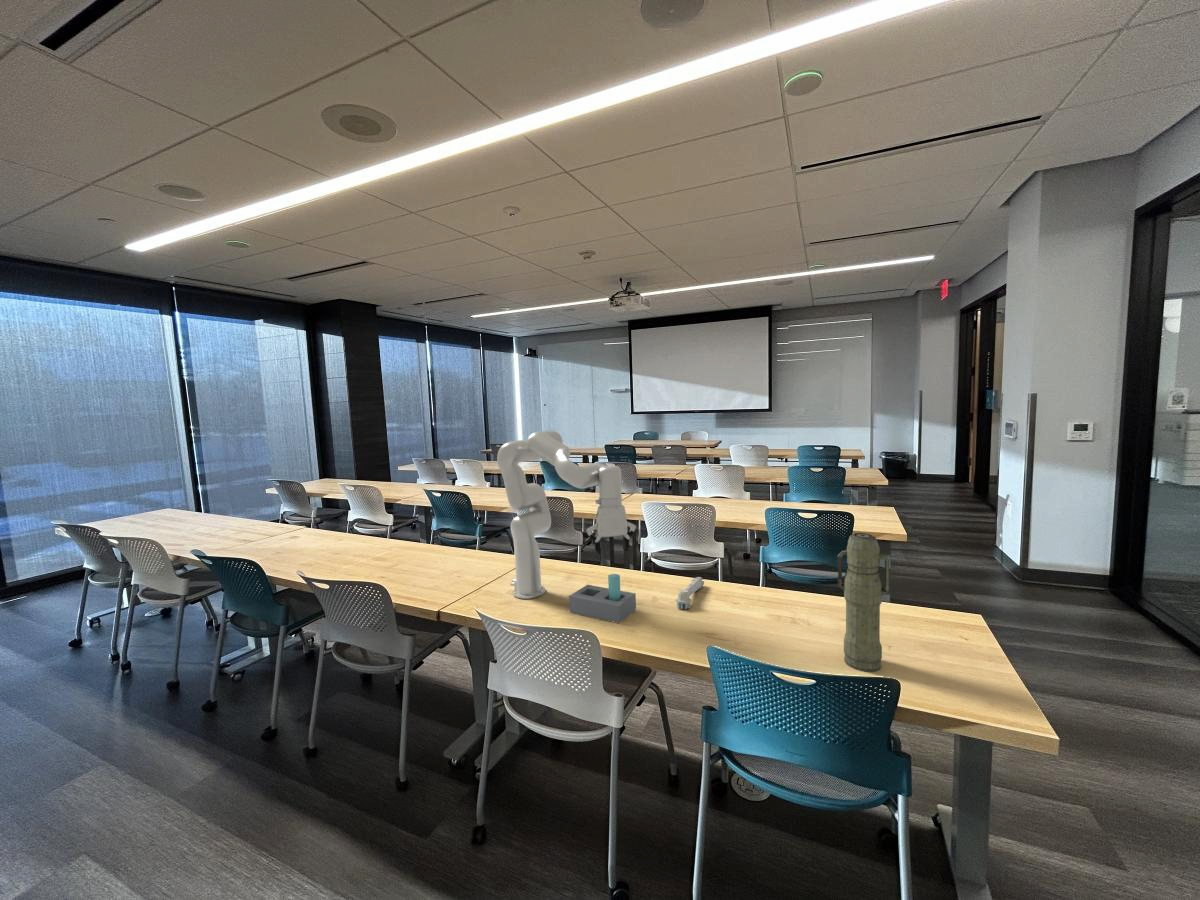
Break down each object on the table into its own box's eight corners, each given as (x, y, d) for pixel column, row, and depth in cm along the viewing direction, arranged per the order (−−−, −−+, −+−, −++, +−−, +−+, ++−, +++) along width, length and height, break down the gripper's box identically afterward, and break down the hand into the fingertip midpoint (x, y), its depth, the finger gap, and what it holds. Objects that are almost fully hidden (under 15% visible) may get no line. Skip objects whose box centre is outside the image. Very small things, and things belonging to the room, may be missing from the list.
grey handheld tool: (706, 576, 188) (688, 590, 166) (705, 594, 188) (688, 610, 166) (692, 575, 191) (673, 588, 168) (692, 592, 190) (673, 608, 168)
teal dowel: (607, 610, 166) (606, 576, 165) (613, 606, 169) (611, 573, 168) (617, 613, 164) (616, 578, 163) (623, 608, 167) (621, 574, 166)
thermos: (836, 651, 135) (836, 529, 132) (884, 658, 131) (885, 532, 128) (838, 667, 127) (838, 538, 124) (890, 675, 123) (891, 541, 120)
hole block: (569, 612, 169) (569, 595, 169) (588, 600, 179) (587, 584, 179) (619, 623, 159) (618, 606, 158) (636, 610, 169) (635, 593, 168)
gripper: (588, 506, 158) (589, 557, 159) (638, 502, 162) (639, 552, 163) (583, 502, 165) (585, 550, 166) (631, 498, 169) (632, 546, 170)
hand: (612, 551), depth 165 cm, fingers open, 9 cm apart
